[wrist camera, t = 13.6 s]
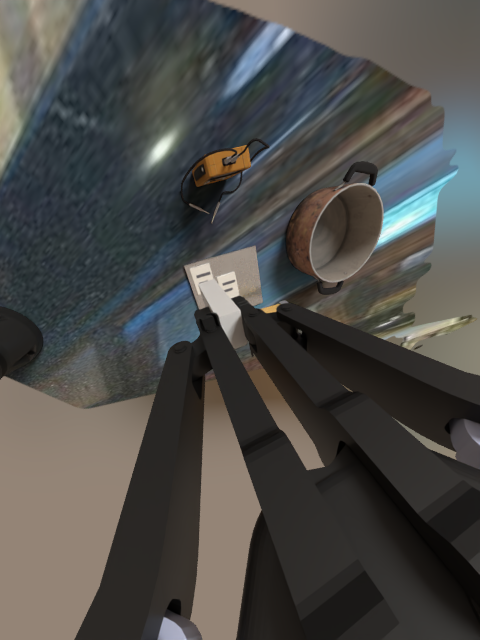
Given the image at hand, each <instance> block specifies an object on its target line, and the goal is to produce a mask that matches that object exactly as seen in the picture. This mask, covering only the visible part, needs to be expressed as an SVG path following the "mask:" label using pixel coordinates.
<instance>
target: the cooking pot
mask: <svg viewBox="0 0 480 640" xmlns="http://www.w3.org/2000/svg"><path fill="white" fill-rule="evenodd" d="M354 172H360V173H365V174H370V179H369V184H365V183H356V184H349V185H344V184H345V183H346V182H349V180H350V179H351V177H352V175H353V174H354ZM377 173H378V169H377V167H376V166H375V165H374V164H372V163H369V162H364V161H361V162H356V163H354V164H353V165H352V166H351V167H350V169H349V170H348V172H347V174H346V175H345V177H344V179H343V181H344V182H343V184H342V185H341V186H335V187H329V188H324V189H320V190H317V191H315V192H313V193H311V194H310V195H308V196H307V197H306V198H305V199H304V200H303V201H302V202H301V203H300V204H299V205H298V207H297V208H296V210H295V212H294V213H293V215H292V218H291V220H290V222H289V226H288V229H287V235H286V249H287V254H288V257H289V260H290V261H291V263H292V265H293V266H294V267H295V268H296V269H298V270H300V271H301V272H303V273H306V274H308V275H311V276H313V277H314V278H315V279H317V280H318V283H317V287H318V291H319V293H320V294H324V295H329V294H334V293H337V292H338V291H339V290H340V289H341V287H342V285H343V282H344V281H343V280H345V279H347V278H349V277H350V276H352V275H353V274H355V273H356V272H357V271H358V270H359V269H360V268H361V267H362V266H363V265H364V264H365V263H366V261H367V260H368V259H369V257H370V256H371V254H372V252H373V251H374V249H375V247H376V245H377V242H378V240H379V237H380V234H381V230H382V225H383V204H382V200H381V198H380V195H379V194H378V192H377V191H376V190H375V189H374V188H373V187H372V186H373V185H375V182H376V178H377ZM319 279H321V280H323V281H326V282H334V283H335V282H338V284H337V286H336V287H333V288H323V287H322V282H320V280H319Z"/></svg>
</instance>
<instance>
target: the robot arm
mask: <svg viewBox="0 0 480 640" xmlns="http://www.w3.org/2000/svg"><path fill="white" fill-rule="evenodd" d="M198 286H199V289H200V292H201V295H202V298H203V301H204V304H205V308H202V309H199V310H196V311H195V314H194V316H195V318H196V323H197V326H198V328H199V331H200V336H199V337H198V338H197V339H196V340H195V341H194V342H192V343H190V342H189V341H181V342H178V343H176V344H174V345H173V346H172V347H171V348H170V349H169V351H168V354H167V358H166V361H165V365H164V368H163V371H162V375H161V378H160V382H159V385H158V389H157V392H156V395H155V399H154V402H153V406H152V409H151V413H150V416H149V419H148V423H147V426H146V430H145V433H144V437H143V440H142V444H141V447H140V450H139V454H138V457H137V461H136V464H135V467H134V471H133V474H132V478H131V481H130V485H129V488H128V491H127V495H126V499H125V502H124V505H123V509H122V512H121V515H120V519H119V522H118V526H117V529H116V533H115V536H114V540H113V543H112V546H111V550H110V553H109V557H108V560H107V563H106V567H105V570H104V574H103V577H102V581H101V584H100V587H99V589H98V591H97V593H96V596H95V598H94V600H93V602H92V604H91V606H90V608H89V610H88V612H87V615H86V617H85V619H84V621H83V623H82V625H81V627H80V629H79V631H78V633H77V635H76V638H75V640H202V637H201V634H200V632H199V630H198V628H197V627H196V625H195V624H194V623H192V622H191V621H190V617H191V613H192V606H193V598H194V591H195V584H196V576H197V561H198V546H199V520H200V495H201V494H200V493H201V468H202V445H203V419H204V393H205V374H206V373H207V372H209V371H210V370H211V369H213V371H214V373H215V376H216V379H217V382H218V385H219V388H220V391H221V393H222V396H223V399H224V402H225V405H226V408H227V411H228V413H229V416H230V419H231V422H232V424H233V428H234V430H235V433H236V436H237V439H238V442H239V445H240V448H241V450H242V454H243V457H244V460H245V463H246V466H247V469H248V472H249V474H250V477H251V480H252V483H253V486H254V489H255V492H256V495H257V498H258V500H259V503H260V506H261V509H262V511H261V513H260V515H259V517H258V519H257V521H256V524H255V527H254V530H253V534H252V538H251V542H250V548H249V554H248V561H247V568H246V575H245V582H244V589H243V596H242V603H241V610H240V617H239V624H238V631H237V638H236V640H480V376H479V375H474V374H471V373H467V372H464V371H461V370H459V369H456V368H453V367H451V366H448V365H446V364H443V363H441V362H439V361H436V360H434V359H431V358H429V357H426V356H423V355H421V354H418V353H416V352H413V351H411V350H408V349H406V348H403V347H401V346H398V345H396V344H393V343H391V342H388V341H386V340H383V339H381V338H378V337H376V336H373V335H371V334H368V333H366V332H363V331H361V330H358V329H356V328H353V327H351V326H348V325H346V324H343V323H341V322H338V321H336V320H333V319H331V318H328V317H326V316H323V315H321V314H318V313H316V312H313V311H311V310H308V309H306V308H303V307H300V306H298V305H295V304H292V303H283V304H281V305H279V306H277V308H276V312H272V313H265V312H264V311H263V310H261V309H257V308H256V309H255V308H254V307H253V306H252V305H251V304H250V303H249V302H248V301H247V300H246V299H245V298H244V297H241V296H236V297H233V298H230V297H229V296H228V295H227V294H226V292H225V291H224V290H223V289H222V288H221V286H220V285H219V284H218V283H217V282H216V280H215V279H212V280H209V281H206V282H203V283H199V284H198ZM298 329H299V330H301V331H302V334H301V333H299V332H298ZM246 338H247V340H248V341H249V345H250V350H251V355H252V357H253V356H254V355H253V353H254V354H255V356H256V357H257V359H258V360H259V362H260V363H261V365H262V366H263V368H264V369H265V371H266V372H267V374H268V375H269V377H270V378H271V380H272V381H273V383H274V384H275V386H276V387H277V389H278V390H279V392H280V393H281V394H282V396H283V398H284V399H285V401H286V402H287V403H288V405H289V406H290V408H291V410H292V411H293V413H294V414H295V415H296V417H297V418H298V420H299V421H300V423H301V424H302V426H303V427H304V429H305V430H306V432H307V433H308V435H309V436H310V438H311V439H312V441H313V443H314V444H315V446H316V448H317V451H318V454H319V456H320V458H321V460H322V462H323V464H324V466H325V467H322V468H317V469H312V470H306V468H305V466H304V465H303V463H302V461H301V459H300V458H299V456H298V454H297V452H296V451H295V449H294V447H293V446H292V444H291V442H290V440H289V439H288V437H287V436H286V434H285V433H284V432H283V431H282V430H280V429H279V428H278V426H277V425H276V423H275V421H274V419H273V418H272V416H271V414H270V412H269V410H268V409H267V407H266V405H265V403H264V402H263V400H262V398H261V396H260V394H259V392H258V391H257V389H256V387H255V385H254V384H253V382H252V380H251V378H250V376H249V375H248V373H247V371H246V369H245V367H244V366H243V364H242V362H241V360H240V358H239V357H238V355H237V353H236V351H235V350H234V349H236V348H239V347H241V346H244V345H246V344H247V340H246ZM42 346H43V337H42V334H41V332H40V330H39V329H38V327H37V326H36V325H35V324H34V323H33V322H32V321H31V320H29V319H28V318H27V317H25V316H23V315H22V314H20V313H18V312H15V311H13V310H10V309H8V308H4V307H1V306H0V379H1V378H2V377H3V376H5V375H7V374H9V373H11V372H13V371H15V370H17V369H19V368H20V367H22V366H24V365H26V364H28V363H29V362H30V361H32V360H33V359H34V358H35V356H36V355H37V354H38V353H39V352H40V350H41V348H42ZM343 385H344V386H346V387H347V388H349V389H350V390H352V391H353V392H350V391H348V390H347V389H346V388H345V387H344V386H343ZM391 416H392V417H393V418H395V419H396V420H398V421H399V422H401V423H402V424H404V425H405V426H407V427H409V428H410V429H412V430H414V431H415V432H417V433H419V434H420V435H422V436H424V437H426V438H428V439H430V440H432V441H434V442H436V443H437V444H439V445H442V446H444V447H446V448H448V449H451V450H453V451H455V452H457V453H456V456H455V457H456V459H457V460H455V459H452V458H450V457H447V456H445V455H442V454H440V453H437V452H435V451H432V450H430V449H428V448H426V447H425V446H424V445H423V444H422V443H420V441H418V440H417V439H416V438H415V437H414V436H413V435H412V434H410V433H409V432H408V431H407V430H406V429H405V428H404V427H402V426H401V425H400V424H399V423H398V422H397V421H396V420H395V419H393V418H392V417H391Z"/></svg>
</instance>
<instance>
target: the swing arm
mask: <svg viewBox="0 0 480 640" xmlns="http://www.w3.org/2000/svg"><path fill="white" fill-rule="evenodd" d="M283 303H288V302H287V301H281V302H279V304H277V305H273V306H270V307H266V308H263V309H261V310H263V311H264V312H265V313H272V312H276V308H277V306H279V305H281V304H283Z"/></svg>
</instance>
